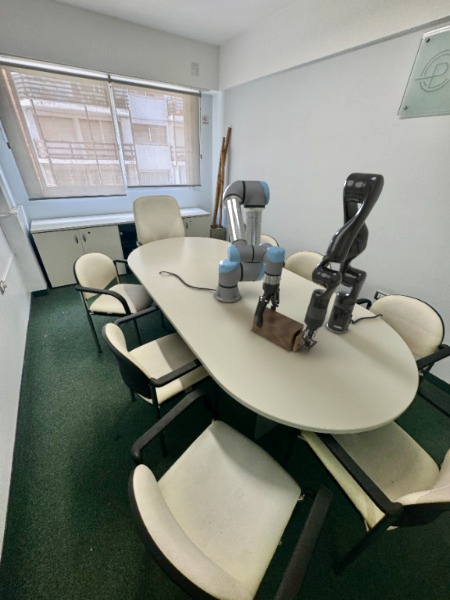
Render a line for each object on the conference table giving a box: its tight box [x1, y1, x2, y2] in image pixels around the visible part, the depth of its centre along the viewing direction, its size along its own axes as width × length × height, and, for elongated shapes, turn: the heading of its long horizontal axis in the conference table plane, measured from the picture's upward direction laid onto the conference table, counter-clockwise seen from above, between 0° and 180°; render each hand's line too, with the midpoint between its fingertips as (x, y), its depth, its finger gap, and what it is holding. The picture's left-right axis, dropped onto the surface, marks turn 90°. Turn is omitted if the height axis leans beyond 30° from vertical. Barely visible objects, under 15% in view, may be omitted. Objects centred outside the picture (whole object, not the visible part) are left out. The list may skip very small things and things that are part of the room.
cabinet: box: [251, 306, 305, 352], centre depth 116 cm, size 21×10×10 cm, turn 47°
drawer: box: [291, 328, 318, 353], centre depth 112 cm, size 25×9×8 cm, turn 47°
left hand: (265, 321), depth 119 cm, fingers closed on cabinet, 10 cm apart
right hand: (306, 346), depth 107 cm, fingers closed
